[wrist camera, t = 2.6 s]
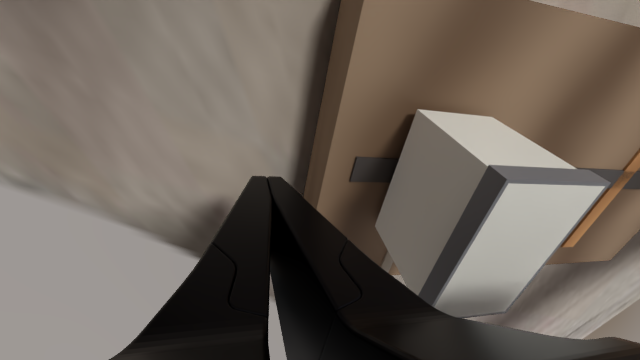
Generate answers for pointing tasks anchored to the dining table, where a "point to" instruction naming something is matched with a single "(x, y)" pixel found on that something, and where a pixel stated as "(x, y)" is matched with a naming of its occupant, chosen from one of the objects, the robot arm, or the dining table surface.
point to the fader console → (478, 104)
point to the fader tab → (478, 211)
